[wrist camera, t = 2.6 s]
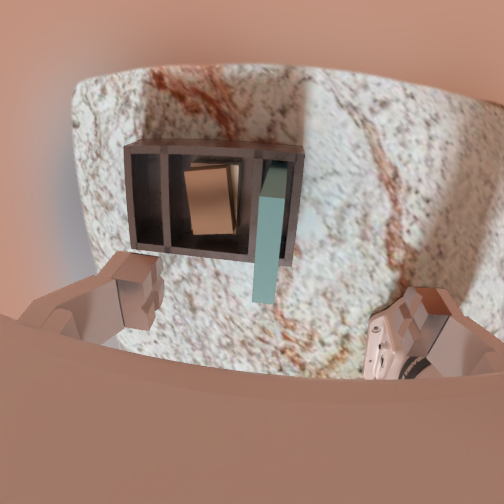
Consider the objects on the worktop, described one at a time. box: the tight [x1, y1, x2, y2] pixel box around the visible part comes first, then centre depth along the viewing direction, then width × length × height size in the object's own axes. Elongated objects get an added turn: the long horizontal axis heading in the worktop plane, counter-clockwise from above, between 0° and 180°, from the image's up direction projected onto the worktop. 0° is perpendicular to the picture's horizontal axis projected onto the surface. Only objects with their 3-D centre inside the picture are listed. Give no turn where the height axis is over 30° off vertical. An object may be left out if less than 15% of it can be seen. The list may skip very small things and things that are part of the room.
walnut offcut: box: [184, 164, 236, 235], centre depth 38 cm, size 8×5×2 cm, turn 5°
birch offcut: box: [191, 159, 242, 234], centre depth 40 cm, size 9×6×2 cm, turn 177°
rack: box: [124, 139, 305, 267], centre depth 40 cm, size 14×22×6 cm, turn 87°
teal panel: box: [252, 160, 288, 304], centre depth 34 cm, size 10×2×16 cm, turn 177°
